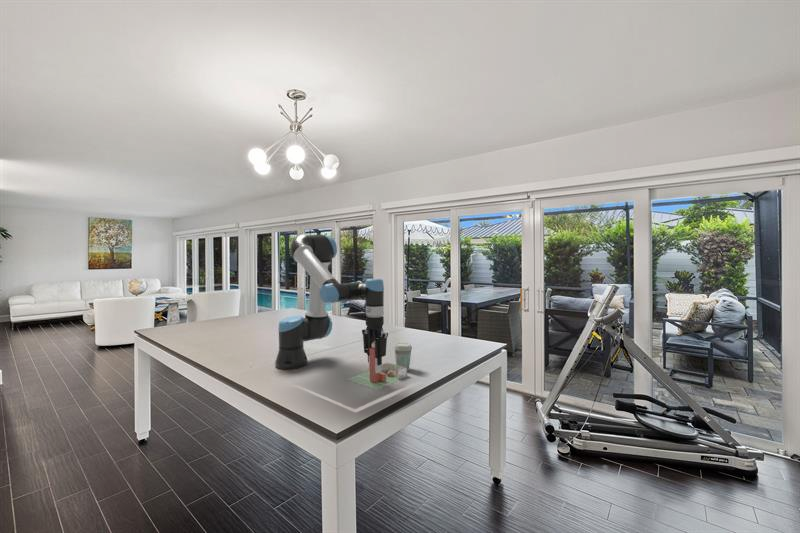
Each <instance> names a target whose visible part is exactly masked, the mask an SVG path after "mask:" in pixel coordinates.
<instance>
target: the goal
mask: <svg viewBox="0 0 800 533" xmlns="http://www.w3.org/2000/svg"><path fill="white" fill-rule="evenodd" d="M389 370H393V371H394V373H395V379H398V380H401V379H404V378H405V377H408V371H407V367H404V366H400V365H396V363H392V362H388V361H386V362H382V365H381V372H383V373H386V372H388V371H389Z"/></svg>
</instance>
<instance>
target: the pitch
mask: <svg viewBox="0 0 800 533" xmlns="http://www.w3.org/2000/svg"><path fill="white" fill-rule="evenodd" d="M346 380H348V381H350V382H353V383H356V384H359V385H361V386H365V387H367V388H370V389H373V390H375V391H377V390H380V389H382V388H385V387H387V386H389V385H392V384H394V383H396V382H399V381H400V379H396V378H394V377H388V376H387V375H386V381H384V382H382V381H378V382H375V383H374V382H371V381H370V371H369V370H368V371H366V372H363V373H361V374H357V375H355V376H352V377H349V378H347V379H346Z"/></svg>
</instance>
